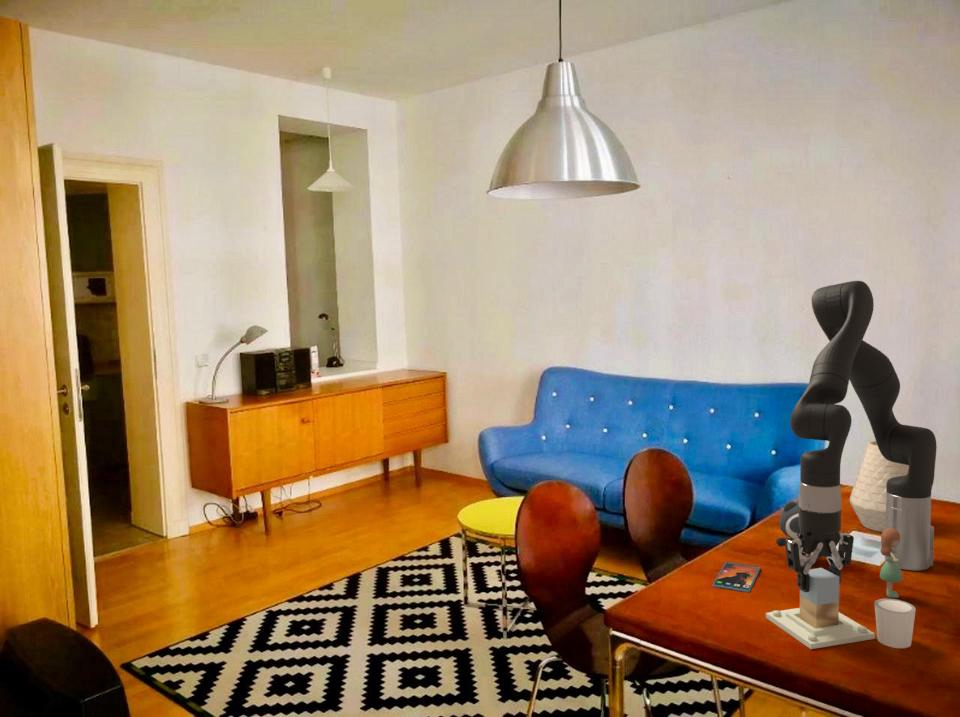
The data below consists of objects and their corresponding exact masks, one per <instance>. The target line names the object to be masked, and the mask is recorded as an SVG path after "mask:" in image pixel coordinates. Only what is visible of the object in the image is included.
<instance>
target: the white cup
mask: <svg viewBox="0 0 960 717" xmlns="http://www.w3.org/2000/svg"><path fill="white" fill-rule="evenodd" d="M874 615H875V624H876V625H875V626H876V639H877V641H878V642H879V644H883V645H884V646H887V647H890V648H895V649H907V648H910V647H911V646H912V641H913V633H914V625H915V619H916V618H915V617H916V607H915V606H914V605H913V604H911V603H909V602H907V601H904V600H901V599H897V598H880V599H876V600H875V601H874Z"/></svg>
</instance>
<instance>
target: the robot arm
mask: <svg viewBox="0 0 960 717" xmlns="http://www.w3.org/2000/svg"><path fill="white" fill-rule="evenodd" d="M811 307H812V310H813V315H814V316H815V319H816V321H817V323H818V324H819V327H820V328H821V330H822V331H823V333H824V334H825V337H827V339H828V341H829V342H828V343H827V344H826V345H825V346H824V347H823V349H821V350H820V351H819V353H818V354H817V355H816V358H815V360H814V362H813V365H812V368H811V373H810V376H809V382H808V385H807V387H806V389H805V390H804V392H803V393H802V395H801V397H800V398H799V400H798V401H797V402H796V404H795V406H794V408H793V409H792V412H791V416H790V421H789V422H790V423H789V424H790V429H791V431H792V433H793V435H795V436H796V437H798V438H800V439H804V440H813V441H827V442H828V446H827V447H826V448H823V449H822V448H821V449H817V450H815V449H813V450H808V451H805V452H803V453H802V454H801V456H800V474H799V475H800V479H799V480H800V481H799V482H800V483H799V489H798V502H799V527H800V535H799V537H798V539H795V540H789V539H790V538H789V539H786V540H785V546H784V547H785V554H786V564H787V568H788V569H790V570H792V571H794V572H795V573H797V574H796V578H797V579H796V580H797V581H796V584H797V587H798V588H799V591H800V590H802V591H803V592H809V580H810V574H808V573H809V570H810V569H812V565H814V564H815V563H816V562H817V559H820V558H822V557H825V558H826V560H827V562H828V564H829V566H828V571H829V572H831V573H833V574H835V575H837V576H839V585H841V582H842V569H843V567H845V566H849V565H851V562H852V556H853V555H852V554H853V548H854V539H855V537H854V536H853V535H851V534H848V533H846V532H845V531H841V529H842V491H841V463H842V456H843V453H844V448H845V444H846V443H847V442H846V441H847V440H848V436H849V434H850V430H851V428H852V416H851V413H850V411H849V409H848V408H847V407H845V406H844V405H842V404H839V403H841V402H843V401H844V400H845V398H846V396H847V394H848V388H849V384H850V383H851V386H852V388H853V390H854V392H855V395H856V396H857V398H858V400H859V401H860V403H861V405H862V408H863V410H864V412H865V414H866V417H867V419H868V422H869V424H870V426H871V427H870V428H871V430H872V433H873V436H874V440H875V441H876V442H877V445H878V448H879V450H880V452H881V454H882V456H883V457H884V458H885V459H887V460H889V461H891V462H895V463H900V464H905V465H909V469H908V474H907V475H905V476H898V477H893V478H890V479H888V481H887V485H886V529H887V528H893V529H895V530H896V531H898V532H899V534H900V543H899V545H898V546H897V547H892V550H893V551H895V552H896V553H897V554H898V557H897V558H896V559H898V562H897V564H898V565H899V567H900V569H901V570H904V571H905V570H906V571H926V570H927V569H929V568H930V567H931V566H933V567H934V543H935V538H934V535H935V532H934V531H935V527H934V526H933V525H931V524H932V523H931V521H932V520H931V518H932V489H933V486H934V482H935V471H936V470H935V469H936V468H935V467H936V459H937V438H936V435H935V433H934V432H933V431H932V430H931V429H930V428H927V427H926V428H925V427H922V426H921V427H920V426H915V425H908V424H907V425H906V424H901V423H900V422H899V421H898V420H897V418H896V416H895V413H894V412H893V408H894V406H895V404H896V402H897V400H898V397H899V395H900V390H901V382H900V379H899V377H898V374H897V372H896V370H895V367H894V365H893V363H892V361H891V360H890V358H889V357H888V356H887V354H884V353H883V352H882V351H881V350H879V349H878V348H877V347H875V346H873V345H871V344H870V343H868V342H867V341H865V340H863V339H864V337H865V335H866V332H867V329H868V327H869V326H870V323H871V320H872V316H873V313H874V296H873V292H872V290H871V288H870V287H869V285H868V284H867V283H866V282H865V281H862V280H851V281H846V282H842V283H837V284H830V285H826V286H823V287H820V288H817V289H816V290H815V291H813V293H812V295H811ZM849 382H850V383H849ZM840 531H841V532H840ZM800 546H802V548H801V549H800ZM837 547H838V548H837ZM799 551H800V553H799ZM806 554H808V555H810V556H809V557H807V556H806ZM887 559H888V556H884V563H885V562H886V561H887Z"/></svg>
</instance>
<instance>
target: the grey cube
mask: <svg viewBox="0 0 960 717" xmlns="http://www.w3.org/2000/svg"><path fill="white" fill-rule="evenodd" d="M808 574H810V580H809V592H803V591H802V590H800V589H799V597H800V596H802V597H804V598H805V599H807V600H809V601H811V602H812V603H814V604H816V605H822V604H828V603H834V602H839V603H840V584H839V576H837V575H835V574H833V573H831V572H829V570H827V569H825V568H823V567H818V568H810V570H809V573H808Z"/></svg>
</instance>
